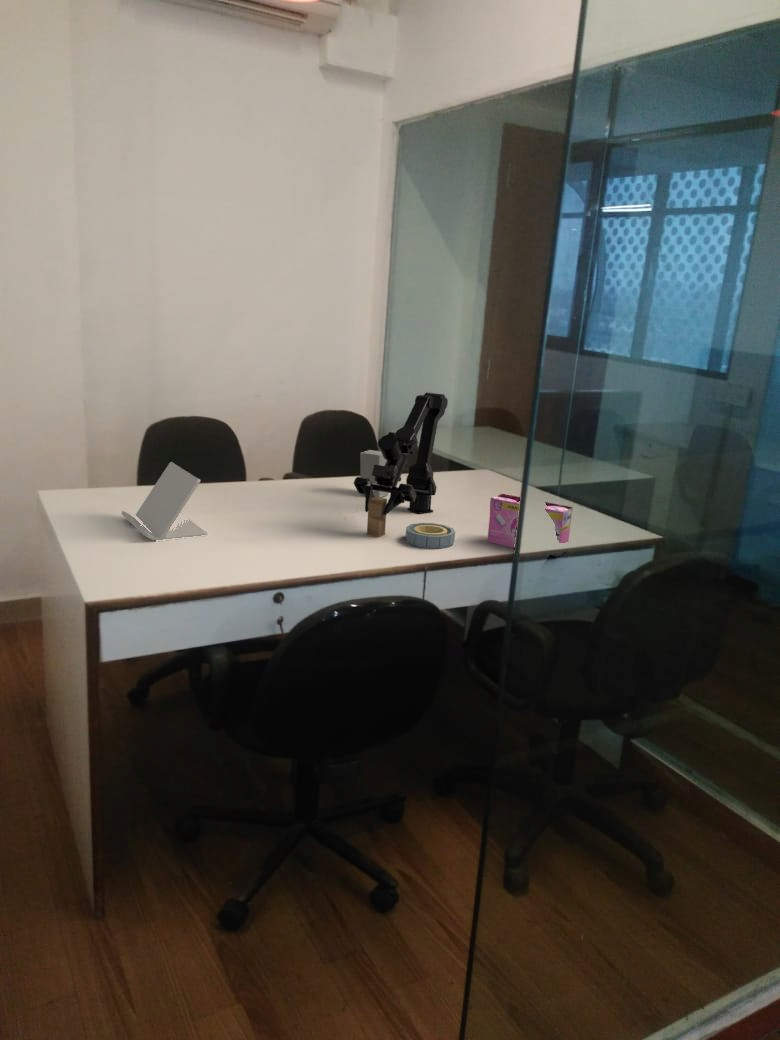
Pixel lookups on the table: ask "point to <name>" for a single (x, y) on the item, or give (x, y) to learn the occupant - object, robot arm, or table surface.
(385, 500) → the brown wooden block
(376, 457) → the skincare box
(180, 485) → the tablet stand
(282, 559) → the table surface
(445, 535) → the grey round dish
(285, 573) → the table surface
